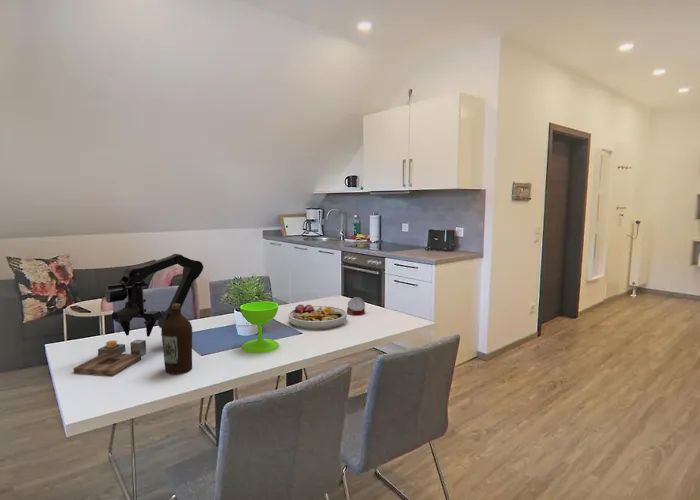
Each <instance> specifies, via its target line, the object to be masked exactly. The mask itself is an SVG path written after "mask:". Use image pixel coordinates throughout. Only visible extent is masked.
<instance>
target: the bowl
mask: <svg viewBox="0 0 700 500" xmlns="http://www.w3.org/2000/svg"><path fill="white" fill-rule="evenodd" d="M347 316H348V314H347V310H345V309H343V308H339V307H334V306H326V305H317V306H316V305H315V306H313V305H312V304H306V305H304V304H301V303H300V304H298V305H296V306H295V309H293V310H291V311H290V312H288V320H289V322H290V323H291V324H292V325H293V326H295V327H298V328H300V329H306V330H326V329H327V330H328V329H332V328H336V327H338V326H340V325H342V324H344V323H345V321H346V320H347Z"/></svg>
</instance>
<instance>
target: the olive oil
mask: <svg viewBox="0 0 700 500" xmlns="http://www.w3.org/2000/svg"><path fill="white" fill-rule="evenodd" d="M160 331H161V333H160V335H161V341H162V351H163V363H164V371H165V373H166V374H167V375H173V376H174V375H175V376H176V375H183V374H186V373H188V372H191V371H192V369H193V326H192V323H191V322H190V320H189V319H188V318H187V317H185V316H184V315H183V314H182V307H180V304H178V303H176V304H172V305H171V316H170V317H169V318H168V319H167V320H166V321H165V323H164V324H163V326H162V329H161V330H160Z"/></svg>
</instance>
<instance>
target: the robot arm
mask: <svg viewBox="0 0 700 500" xmlns="http://www.w3.org/2000/svg"><path fill="white" fill-rule="evenodd" d="M175 265H178V266H180V267H182V278H181V281H180V282H179V285H178V287H177V289H176V291H175V294H174V296H173V298H172V300H171V302H170V304H169V306H168V308H167V309H166V310H161V311H160V310H151V311H149V312H147V309H146V308H145V303H146V300H147V299H146V298H144V287H147V286H149V284H148V283H147V282H146V281H145V279H147V278H149V277H150V276H151V275H152V274H154V273H157V272H159V271H160V272H161V271H162V270H165V269H168V268H170V267H173V266H175ZM203 271H204V264H203V263H202V262H201V261H200V260H196V259H190V258H188V257H185V256H184V255H182V254H179V253H173V254H171V255H169V256H166V257H163V258H160V259H158V260H155V261H151V262H149V263H146V264H139V265H132V266H128V267H126V268H125V269H124V271H123V275H122V277H121V278H120V280H119V281H118V283H116V284H107V285H106V286H105V287H106V289H105V292H104V298H105V302H107V304H110V303H116V302H121V301H122V302H123V301H125V299H126V300H127V301H125V302H124V303H125V304H124V307H123V308H122V309H118V310H115V311H113V312H112V313H111V314H110V315H111V320H114V322H116V323H118V324H120V327H121V328H122V329H123V332H124V333H125V335H126V336H129V335H130V330H131V329H130V326H131V325H130V324H131V321H132V319H135V318H141V319H142V318H143V319H144V320H145V321H144V322H143V324H145V333H146V337H148V338H149V337H151V334H152V331H153V329H154V327H155V324H156V323H157V325H158V328H160V329H161V330H162V326H163V324H164V323H165V321H166V320H167V319H168V318H169V317H170V316H171V305H172V304H176V303H178V304H180V307H181V308H182V307H183V305H184V303H185V300H186V298H187V296H188V294H189V292H190V290H191V287H192V286H193V283H194V282H195V281H196V280H197V278H199V277H200V275H201V273H202V272H203Z"/></svg>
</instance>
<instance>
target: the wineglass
mask: <svg viewBox="0 0 700 500" xmlns="http://www.w3.org/2000/svg"><path fill="white" fill-rule="evenodd" d="M239 308H240V313H241V315H242V317H243V319H244V318H245V319H246V320H247V321H248V322H250V323H251V324H252V325H255V326H256V325H257V338H256V339H251V340H248V341H246V342H245V343H243V344H242V345H241V350H242V351H243V352H244V353H249V354H263V353H269V352H273V351H275V350H277V349H278V348H279V347H280V344H279V342H277V341H276V340H274V339H270V338H263V325H266V324H268V323H270V322H271V321H272V320H273V319H274V318H275V317H276V315H277V313H278V310H279V304H278V303H277V302H273V301H262V300H261V302H251V303H246V304H244V303H243V304H242V305H240V306H239Z"/></svg>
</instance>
